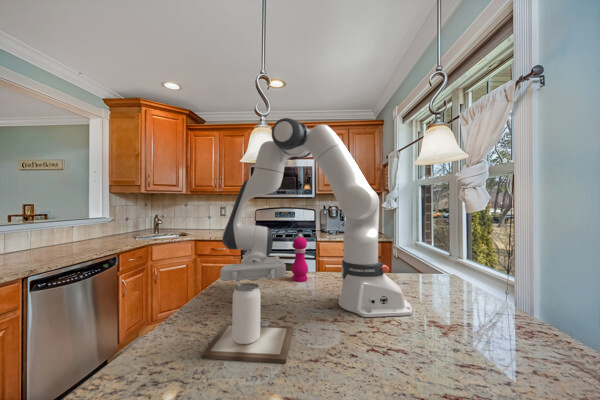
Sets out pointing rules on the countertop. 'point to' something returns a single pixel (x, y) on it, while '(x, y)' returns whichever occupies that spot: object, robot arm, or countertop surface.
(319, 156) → the robot arm
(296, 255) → the pepper mill
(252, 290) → the can
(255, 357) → the clipboard
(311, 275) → the countertop surface
